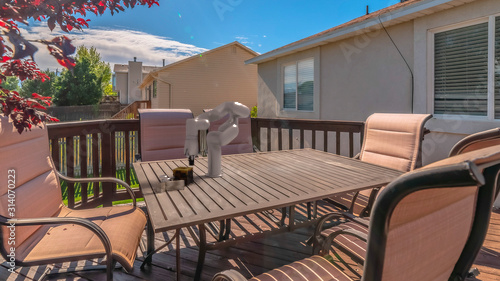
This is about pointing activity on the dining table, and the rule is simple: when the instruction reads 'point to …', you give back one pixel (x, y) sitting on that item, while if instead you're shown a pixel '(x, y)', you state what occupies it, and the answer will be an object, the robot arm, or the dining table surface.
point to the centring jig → (170, 186)
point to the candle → (183, 175)
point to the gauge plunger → (165, 177)
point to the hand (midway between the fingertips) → (191, 165)
